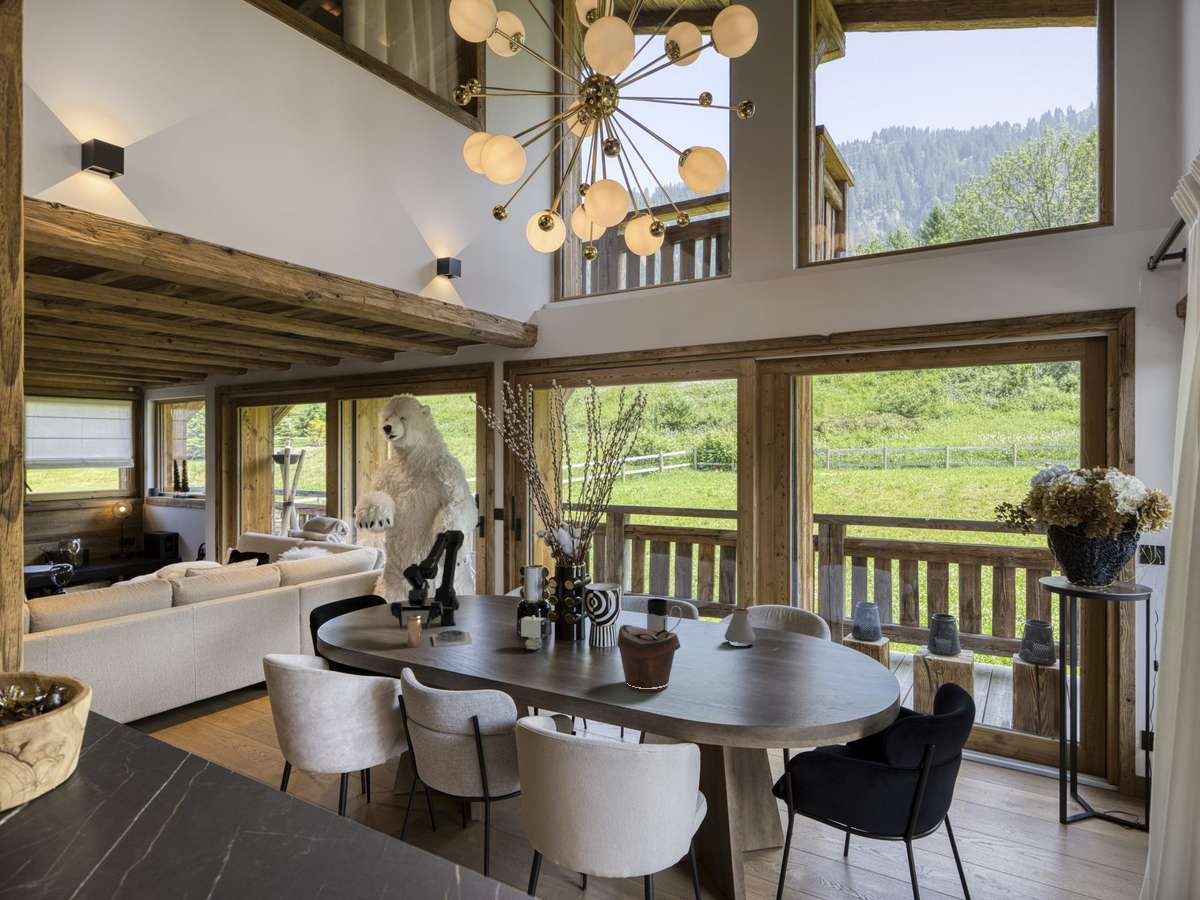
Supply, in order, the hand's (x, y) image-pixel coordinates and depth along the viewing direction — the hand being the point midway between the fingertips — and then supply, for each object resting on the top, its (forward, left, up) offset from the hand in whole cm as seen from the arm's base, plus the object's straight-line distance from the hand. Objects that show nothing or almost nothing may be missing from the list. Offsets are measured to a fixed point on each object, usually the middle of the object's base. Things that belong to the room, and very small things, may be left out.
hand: (413, 628), depth 254 cm
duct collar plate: (-5, +14, -7) cm, 17 cm away
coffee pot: (+26, +121, -7) cm, 124 cm away
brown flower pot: (+64, +68, -7) cm, 94 cm away
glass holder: (+17, +92, -7) cm, 94 cm away
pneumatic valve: (+14, +42, -7) cm, 45 cm away
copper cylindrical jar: (-1, 0, -7) cm, 7 cm away
